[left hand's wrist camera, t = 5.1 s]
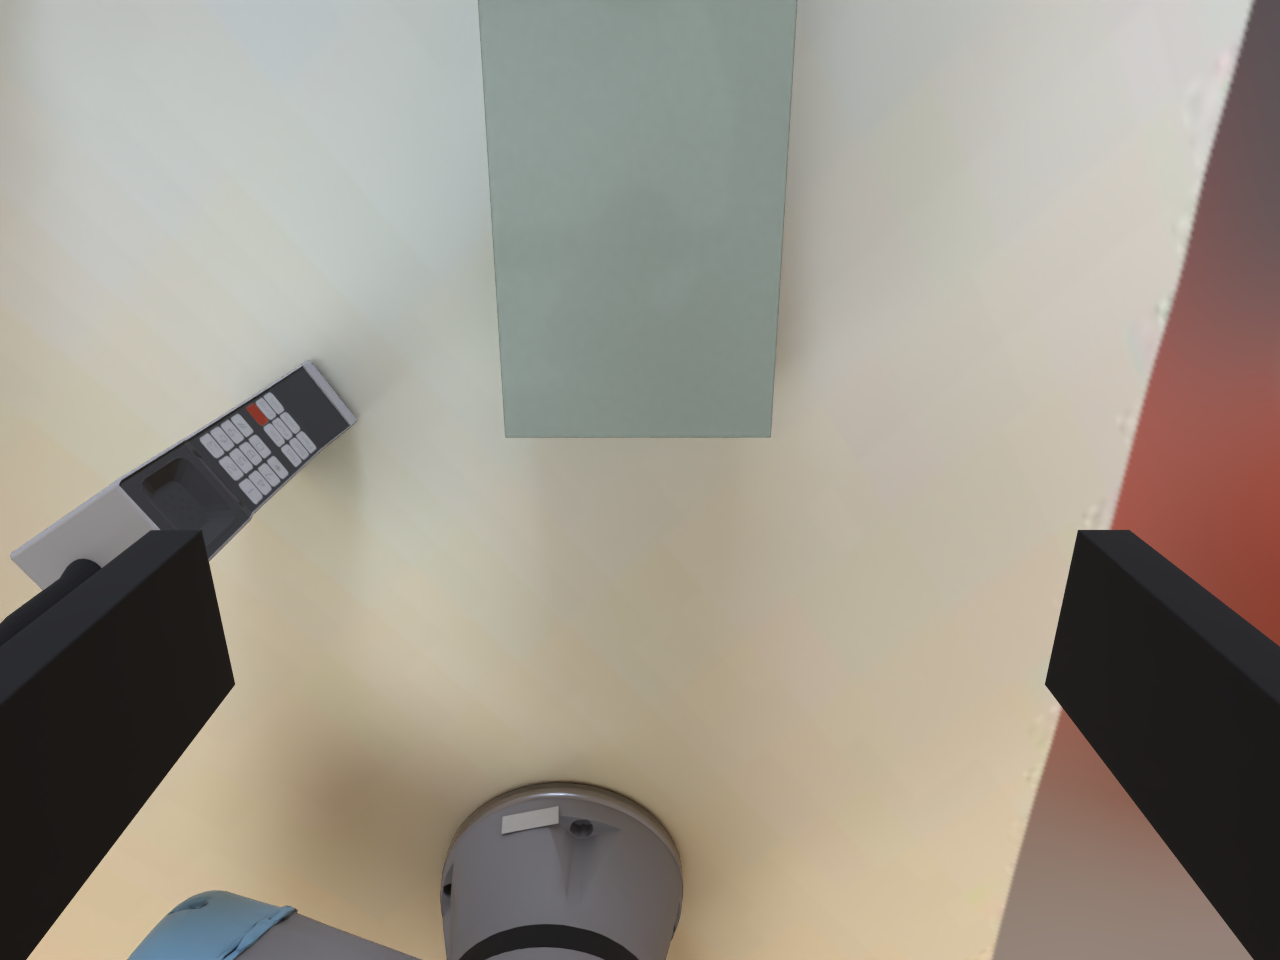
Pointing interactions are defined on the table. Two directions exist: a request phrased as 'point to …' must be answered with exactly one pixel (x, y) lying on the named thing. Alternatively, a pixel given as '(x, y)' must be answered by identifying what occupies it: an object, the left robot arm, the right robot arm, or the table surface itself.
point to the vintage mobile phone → (188, 487)
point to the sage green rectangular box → (637, 211)
